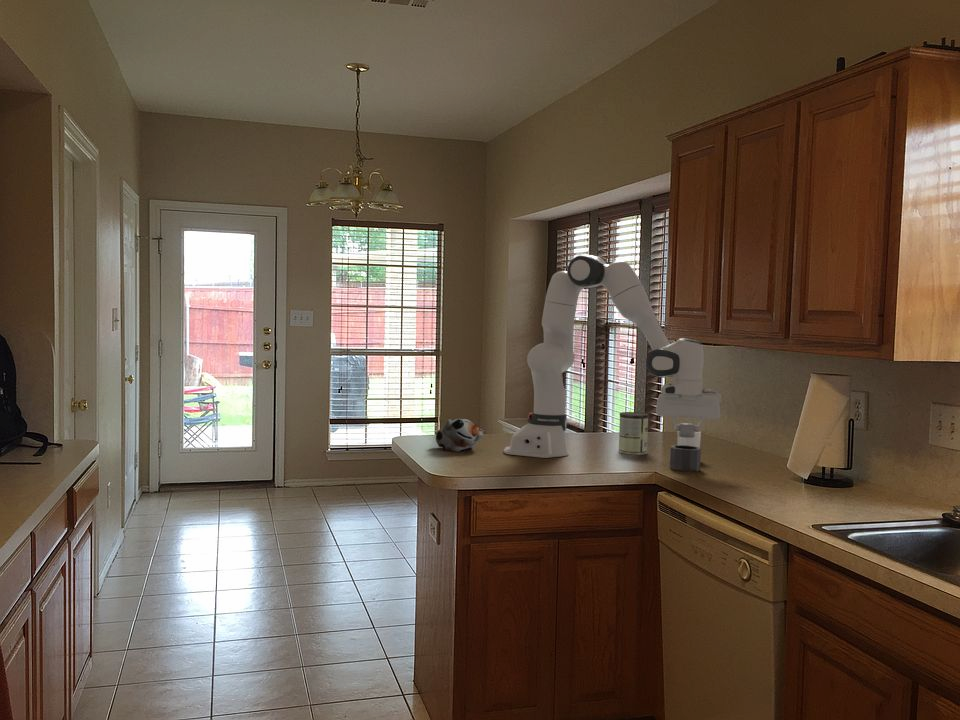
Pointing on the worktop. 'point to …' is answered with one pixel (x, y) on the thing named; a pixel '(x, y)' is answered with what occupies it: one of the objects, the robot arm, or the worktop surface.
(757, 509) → the worktop surface
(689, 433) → the cap
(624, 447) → the coffee can
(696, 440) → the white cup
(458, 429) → the lucky cat figurine
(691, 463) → the dark grey cylinder
